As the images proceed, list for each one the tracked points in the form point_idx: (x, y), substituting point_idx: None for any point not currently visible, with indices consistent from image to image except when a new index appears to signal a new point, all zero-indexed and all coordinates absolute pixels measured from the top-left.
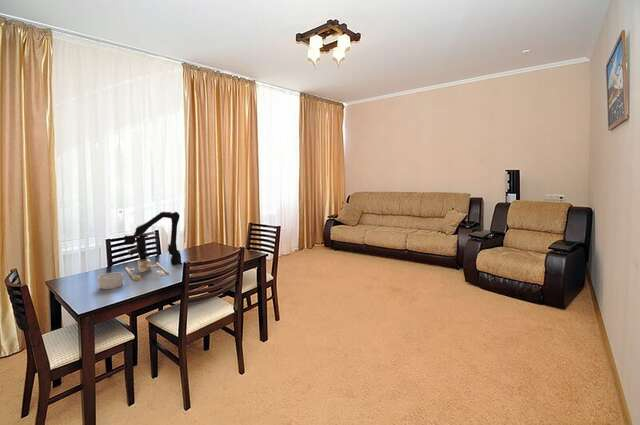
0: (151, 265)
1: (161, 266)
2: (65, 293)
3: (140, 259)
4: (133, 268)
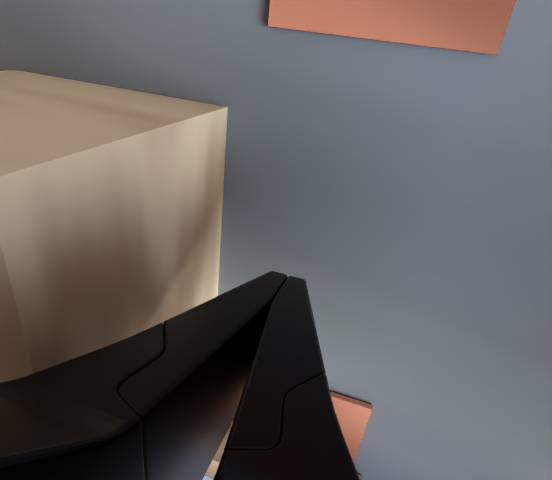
0: (339, 410)
1: None
2: None
3: (248, 385)
4: (448, 31)
